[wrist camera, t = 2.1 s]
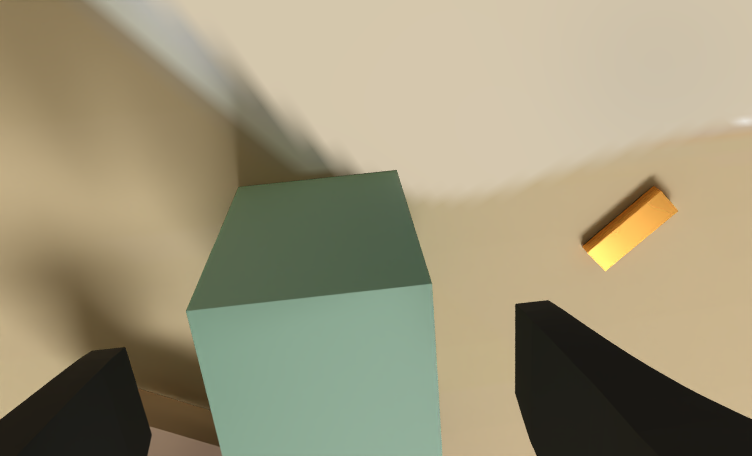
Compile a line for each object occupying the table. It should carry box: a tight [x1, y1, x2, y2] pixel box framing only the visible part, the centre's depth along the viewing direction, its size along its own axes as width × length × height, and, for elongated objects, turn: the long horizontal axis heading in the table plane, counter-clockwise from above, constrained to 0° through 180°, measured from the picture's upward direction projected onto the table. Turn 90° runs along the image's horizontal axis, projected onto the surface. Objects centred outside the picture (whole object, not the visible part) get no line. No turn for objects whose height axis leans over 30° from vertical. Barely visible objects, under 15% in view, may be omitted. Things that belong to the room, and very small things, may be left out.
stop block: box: [186, 170, 442, 456], centre depth 13 cm, size 4×4×6 cm
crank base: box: [582, 186, 678, 271], centre depth 17 cm, size 14×4×1 cm, turn 135°
